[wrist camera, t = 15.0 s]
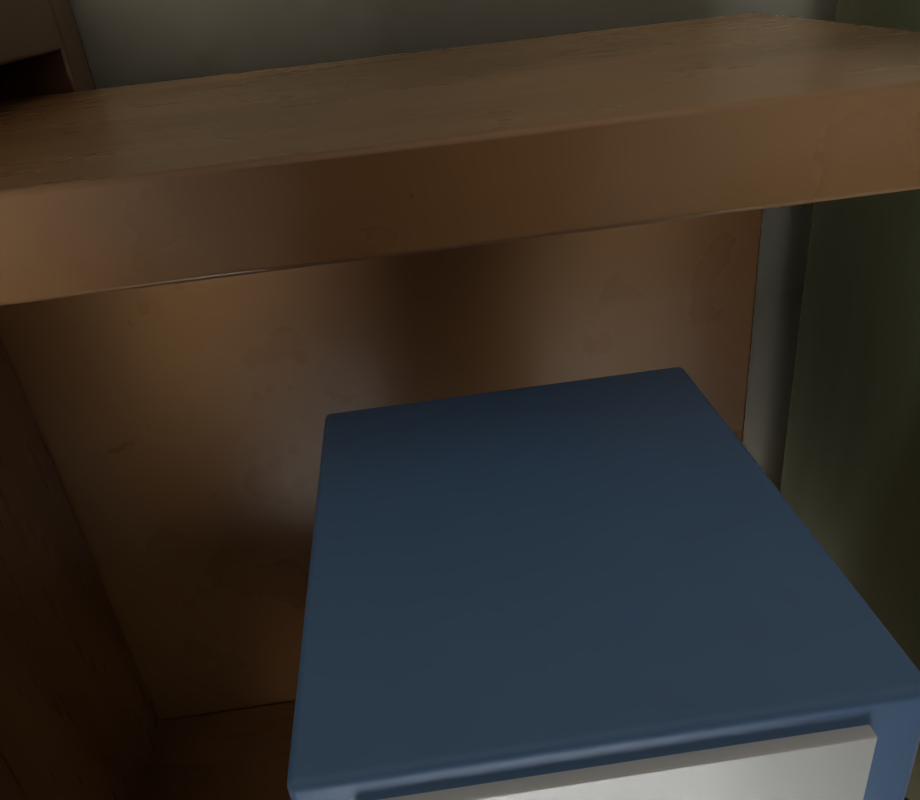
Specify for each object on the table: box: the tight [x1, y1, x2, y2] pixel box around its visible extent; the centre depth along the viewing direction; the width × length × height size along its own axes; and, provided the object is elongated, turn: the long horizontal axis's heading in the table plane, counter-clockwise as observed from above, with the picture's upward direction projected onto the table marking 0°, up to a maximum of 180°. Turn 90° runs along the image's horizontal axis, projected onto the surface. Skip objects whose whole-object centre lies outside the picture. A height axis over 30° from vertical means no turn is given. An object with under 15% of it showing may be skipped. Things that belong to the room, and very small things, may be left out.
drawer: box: [0, 0, 920, 800], centre depth 11 cm, size 19×13×7 cm
